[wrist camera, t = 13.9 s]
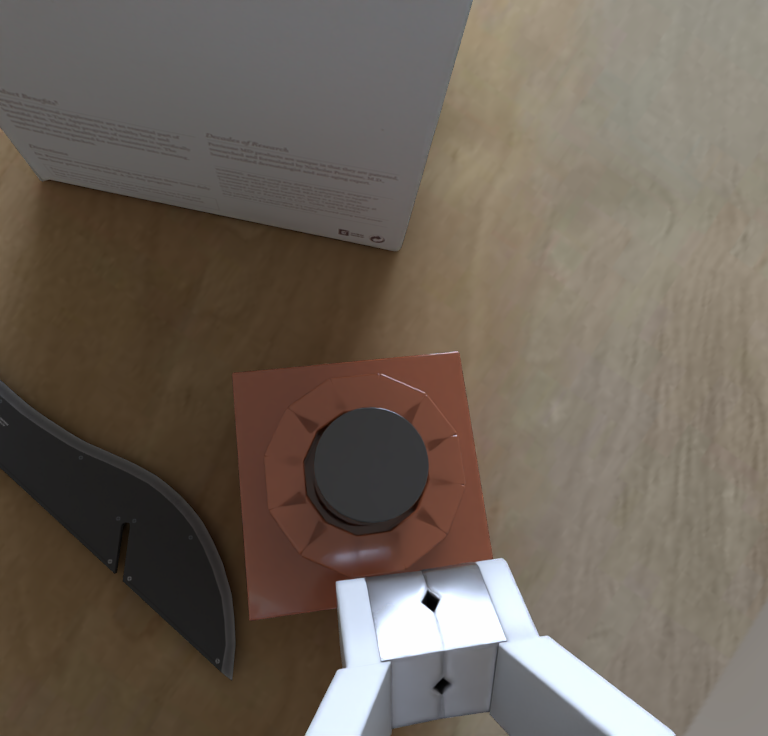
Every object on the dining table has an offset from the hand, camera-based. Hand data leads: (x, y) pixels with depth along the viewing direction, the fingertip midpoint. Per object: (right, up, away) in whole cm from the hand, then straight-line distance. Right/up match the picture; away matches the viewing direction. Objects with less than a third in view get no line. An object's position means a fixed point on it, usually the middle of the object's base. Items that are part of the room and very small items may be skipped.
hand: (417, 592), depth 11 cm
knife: (-18, +3, +15) cm, 24 cm away
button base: (-2, -1, +16) cm, 16 cm away
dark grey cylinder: (-1, +1, +9) cm, 9 cm away
